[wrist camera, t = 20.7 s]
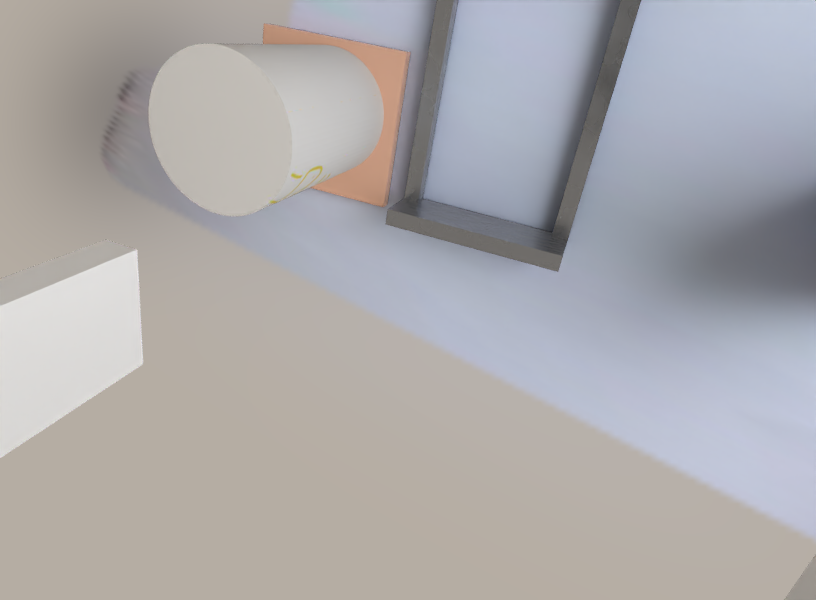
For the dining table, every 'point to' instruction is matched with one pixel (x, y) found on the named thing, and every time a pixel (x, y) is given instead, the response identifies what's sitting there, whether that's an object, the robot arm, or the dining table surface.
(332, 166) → the cup
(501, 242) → the frame
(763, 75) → the dining table surface
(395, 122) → the coaster
